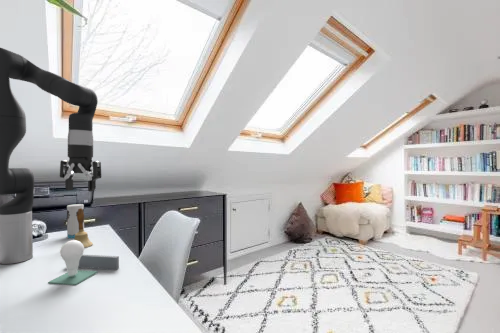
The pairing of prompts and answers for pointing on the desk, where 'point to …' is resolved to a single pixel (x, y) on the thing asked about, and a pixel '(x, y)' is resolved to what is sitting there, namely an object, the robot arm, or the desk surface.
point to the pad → (73, 278)
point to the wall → (99, 262)
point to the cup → (73, 219)
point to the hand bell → (81, 234)
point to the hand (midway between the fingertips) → (80, 190)
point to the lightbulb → (72, 255)
